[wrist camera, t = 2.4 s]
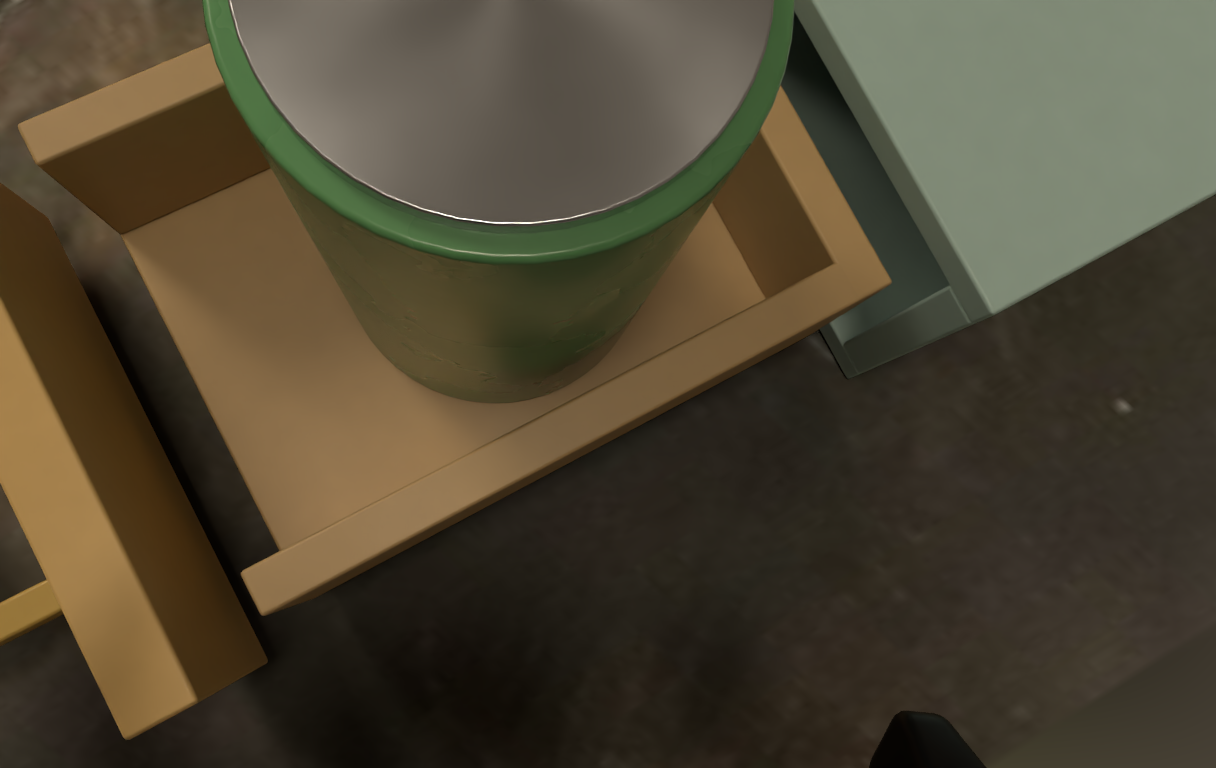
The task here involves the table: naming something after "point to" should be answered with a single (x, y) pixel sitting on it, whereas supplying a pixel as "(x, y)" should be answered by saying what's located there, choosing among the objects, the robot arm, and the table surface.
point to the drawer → (317, 378)
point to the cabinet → (999, 144)
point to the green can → (500, 161)
